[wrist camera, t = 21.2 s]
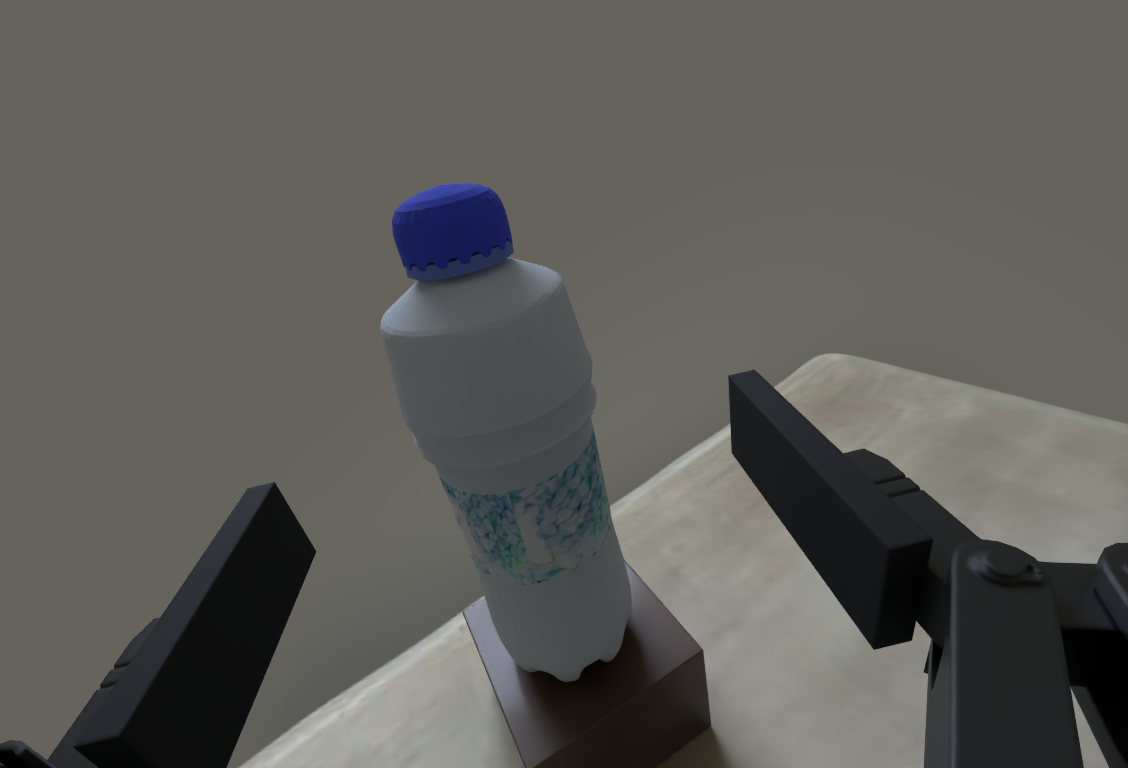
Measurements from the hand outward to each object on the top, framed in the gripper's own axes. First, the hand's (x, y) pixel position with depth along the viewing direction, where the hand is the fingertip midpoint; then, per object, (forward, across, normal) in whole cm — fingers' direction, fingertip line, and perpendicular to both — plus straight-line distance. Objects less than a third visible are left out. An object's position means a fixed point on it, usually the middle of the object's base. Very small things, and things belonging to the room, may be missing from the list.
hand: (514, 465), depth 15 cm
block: (+4, 0, -19) cm, 19 cm away
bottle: (+4, 0, -13) cm, 13 cm away
